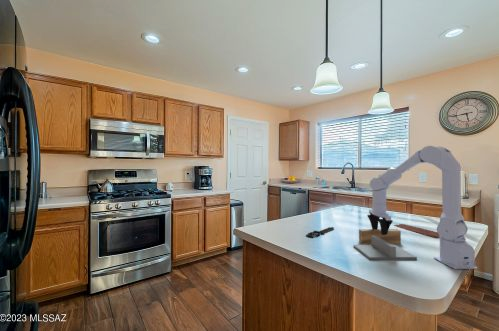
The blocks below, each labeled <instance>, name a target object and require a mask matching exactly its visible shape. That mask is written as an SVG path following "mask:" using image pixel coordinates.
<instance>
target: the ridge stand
mask: <svg viewBox="0 0 499 331" xmlns="http://www.w3.org/2000/svg"><path fill="white" fill-rule="evenodd" d="M353 248H355V250H357V251H358V252H359V253H360V254H362V255H363V256H364V257H366V258H367V259H368V260H369V261H388V260H389V261H394V260H395V261H401V260H402V261H404V260H405V261H408V260H409V261H411V260H413V261H414V260H415V261H416V260H417V261H418V256H416V255H414V254H412V253H410V252H409V251H406V250H405V249H403V248H401V247H399V246H397V245H396V244H395V243H388V242H386V241H385V240H383V239H381V238H379V237H377V236H371V243H370V244H353Z"/></svg>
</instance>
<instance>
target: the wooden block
mask: <svg viewBox="0 0 499 331" xmlns="http://www.w3.org/2000/svg"><path fill="white" fill-rule="evenodd" d="M401 232H402V231H401V230H399V229H398V228H389V229H388V233H387V235H382V234H381V228H378V229H372V228H369V229H368V228H367V229H365V228H362V229H361V228H359V229H358V241H359V243H361V244H371V236H377V237H379V238H381V239H383V240H385V241H386V242H388V243H390V244H401V243H402V242H401V241H402V240H401V239H402V237H401V236H402V235H401V234H402V233H401Z"/></svg>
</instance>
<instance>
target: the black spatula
mask: <svg viewBox="0 0 499 331" xmlns="http://www.w3.org/2000/svg"><path fill="white" fill-rule="evenodd" d="M333 230H335V228H334V226H331V227H327V228H324V229H321V230H313V231H310V232H308V233H307V234H306V235H305V237H306V238H310V239H314V238H315V237H316V238H318V237H320V236H321V235H323V236H325V234H326V233H328V232H331V231H333Z"/></svg>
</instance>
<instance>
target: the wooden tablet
mask: <svg viewBox="0 0 499 331" xmlns="http://www.w3.org/2000/svg"><path fill="white" fill-rule="evenodd" d="M398 224H399V225H398ZM398 224H394V225H393V226H394V227H395V228H399V229H402V230H406V231H410V232H414V233H418V234H420V235H424V236H426V235H427V236H426V237H430V238H435V239H440V235H439V234H438V232H437V231H434V230H430V229H425V228H423V227H422V228H421V227H418V226H417V227H416V226H413V225H410V224H409V225H408V224H405V223H398Z"/></svg>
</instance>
